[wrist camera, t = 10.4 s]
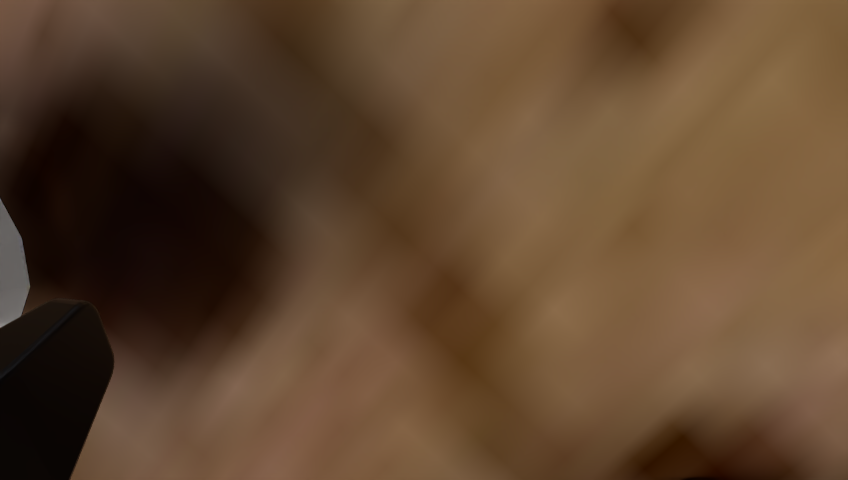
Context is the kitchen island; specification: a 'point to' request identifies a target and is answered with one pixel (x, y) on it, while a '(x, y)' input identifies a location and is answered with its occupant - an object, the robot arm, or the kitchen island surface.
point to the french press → (11, 270)
